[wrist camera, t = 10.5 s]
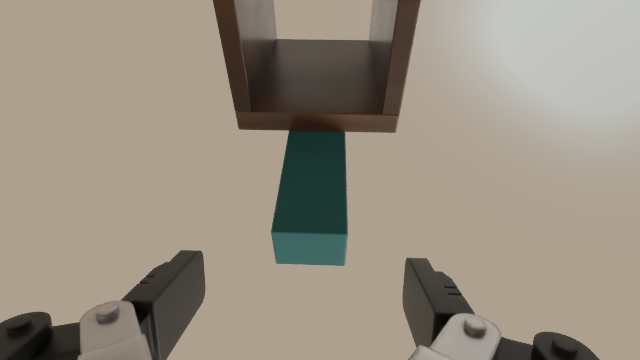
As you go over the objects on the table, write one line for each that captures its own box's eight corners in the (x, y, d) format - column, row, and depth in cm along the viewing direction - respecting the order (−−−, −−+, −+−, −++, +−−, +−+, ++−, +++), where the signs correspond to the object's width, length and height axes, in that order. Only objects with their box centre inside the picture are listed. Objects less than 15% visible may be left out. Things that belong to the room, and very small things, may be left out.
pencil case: (270, 232, 18) (276, 265, 20) (347, 234, 17) (344, 267, 20) (302, 54, 34) (303, 83, 36) (343, 55, 33) (341, 84, 36)
